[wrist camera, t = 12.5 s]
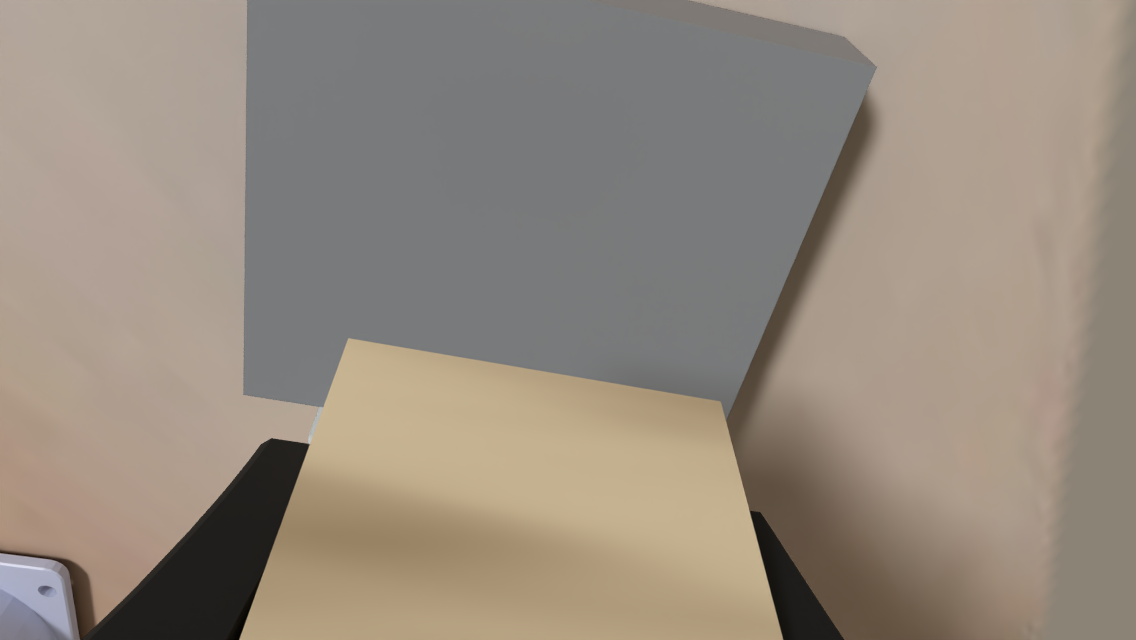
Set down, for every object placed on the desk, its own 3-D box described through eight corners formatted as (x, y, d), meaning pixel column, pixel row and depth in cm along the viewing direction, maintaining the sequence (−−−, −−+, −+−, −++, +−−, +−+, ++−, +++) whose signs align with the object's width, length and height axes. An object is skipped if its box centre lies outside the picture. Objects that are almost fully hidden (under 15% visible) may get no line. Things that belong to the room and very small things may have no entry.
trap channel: (582, 696, 29) (585, 784, 26) (259, 658, 27) (229, 747, 25) (844, 37, 17) (895, 84, 14) (281, -95, 15) (227, -69, 13)
